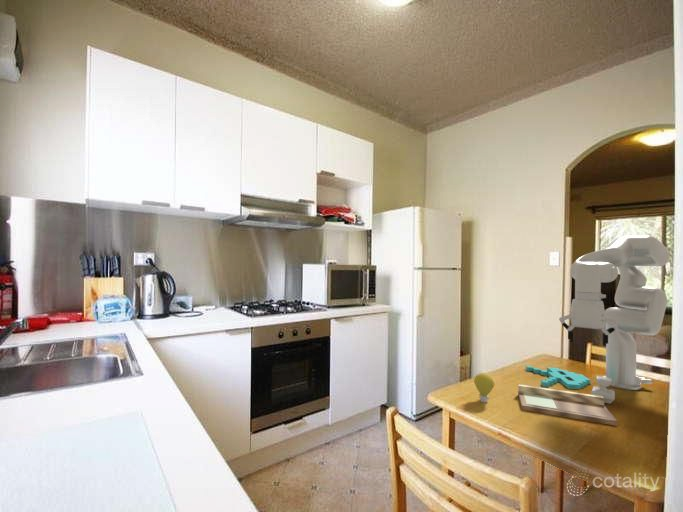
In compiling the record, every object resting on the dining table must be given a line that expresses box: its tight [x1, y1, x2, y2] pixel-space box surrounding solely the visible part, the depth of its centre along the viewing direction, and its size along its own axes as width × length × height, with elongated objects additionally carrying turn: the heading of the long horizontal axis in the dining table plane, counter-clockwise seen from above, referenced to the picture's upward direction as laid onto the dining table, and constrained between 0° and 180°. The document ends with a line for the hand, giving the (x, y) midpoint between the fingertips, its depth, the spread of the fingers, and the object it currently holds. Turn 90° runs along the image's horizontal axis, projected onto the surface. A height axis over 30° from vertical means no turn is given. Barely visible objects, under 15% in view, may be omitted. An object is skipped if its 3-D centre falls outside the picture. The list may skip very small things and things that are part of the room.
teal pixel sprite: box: [525, 365, 591, 390], centre depth 140 cm, size 20×2×20 cm
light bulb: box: [473, 372, 495, 403], centre depth 119 cm, size 7×7×10 cm
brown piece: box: [517, 383, 618, 427], centre depth 113 cm, size 26×13×4 cm, turn 67°
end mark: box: [523, 393, 557, 409], centre depth 116 cm, size 9×10×1 cm
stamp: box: [590, 375, 616, 405], centre depth 119 cm, size 9×7×8 cm
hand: (587, 343), depth 120 cm, fingers open, 9 cm apart
